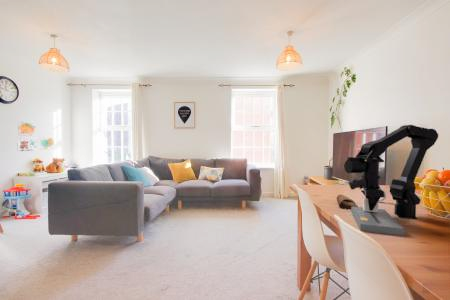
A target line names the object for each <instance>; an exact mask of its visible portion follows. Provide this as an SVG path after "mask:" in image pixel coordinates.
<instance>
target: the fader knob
mask: <svg viewBox="0 0 450 300" xmlns="http://www.w3.org/2000/svg"><path fill="white" fill-rule="evenodd" d="M362 208H363V210H364V211H369V212H378V209H379V202H377V204H376V206H375V207H374V209H373V210H370V209H369V204H368V199H366V198H362Z"/></svg>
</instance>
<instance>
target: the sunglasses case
mask: <svg viewBox="0 0 450 300" xmlns="http://www.w3.org/2000/svg"><path fill="white" fill-rule="evenodd" d="M336 202H337V204H338V207H339V208H340V209H345V210H351V207H357V206H356V204H355V202H354V200H353V199H351V198H349V197H347V196H346V195H343V194H338V195H337V196H336Z"/></svg>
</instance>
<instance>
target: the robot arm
mask: <svg viewBox="0 0 450 300" xmlns="http://www.w3.org/2000/svg"><path fill="white" fill-rule="evenodd" d="M406 138H409V139H411V140H410V143H411V145H412V148H411V150H410V152H409V155H408V157H407V160H406V162H405V163H404V164H405V165H404V167H403V169H402V171H401V174H400V177H398V178H397V179H394V178H393V179H392V180H391V183H390V185H389V193H390V195H391V197H392V200H394V201H395V203H394V208H393V209H394V214H395V215H396V216H397V217H398V218H404V219H414V220H416V219H418V217H417V215H416V214H417V205H420V203H421V201H422V199H421V198H420V197H419V196H418V195H417V194H416V189H417V188H416V184H415V180H416V177H417V174H418V172H419V170H420V168H421V165H422V163H423V160H424V158H425V155H426V154H427V151H428V150H429V149H430V148H431V147H433V146H434V145H435V144H436V142H437V140H438V139H439V133H438V131H437V130H436V129H434V128H426V127H422V126H421V127H420V126H416V125H414V124H406V125H401V126H400V127H399V128H397V129H395V130H393V131H391V132H390V133H388V134H386V135H384V136H383V137H381V138H379V139H376V140H373V141H372V140H371V141H368V142H366V143H364V144H362V145H361V146H360V150H359V151H358V152H357V154H356V155H355V157H353V156H347V159H346V160H345V162H344V168H343V169H344V172H346V173H347V174H361V175H360V176H361V177H359V178H355V179H351V180H348V181H347V183H348V186H349V188H350V190H355V189H359V190H360V192H361V193H362V194H363V196H364V197H365V199H368V204H369V209H370V210H373V209H374V207H375V206H376V204H377V202H378V201H379V200H381V198H384V192H383V191H382V190H383V189H382V188H381V186H380V184H379V181H380V179H381V175H380V163H385V160H384V159H382V158H381V155H383V154H384V153H385V152H386V151H387V149H388V148H389V147H391V146H393V145H394V144H396V143H398V142H400V141H401V140H403V139H406ZM380 188H381V189H382V190H381V189H380ZM378 203H379V202H378Z"/></svg>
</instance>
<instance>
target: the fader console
mask: <svg viewBox="0 0 450 300" xmlns="http://www.w3.org/2000/svg"><path fill="white" fill-rule="evenodd" d="M350 212H351V216H352V217H353V219H354V221H355V223H356V224H357V227H358V229H359V230H361V231H360V232H367V233H375V234H377V233H378V234H385V235H392V234H393V236H394V235H395V236H401V237H403V236H404V235H405V234H404V232H405V231H404V229H405V228H404V227H403V226H402V225H401V224H400V223H399V222H398V221H397V220H396V219H395V218H394V217H393V216H392V215H391V214H390V213H389V212H388V211H387V210H386V209H382V208H378V212H369V211H364V210H363V206H362V207H359V206H356V207H351V209H350Z"/></svg>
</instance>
